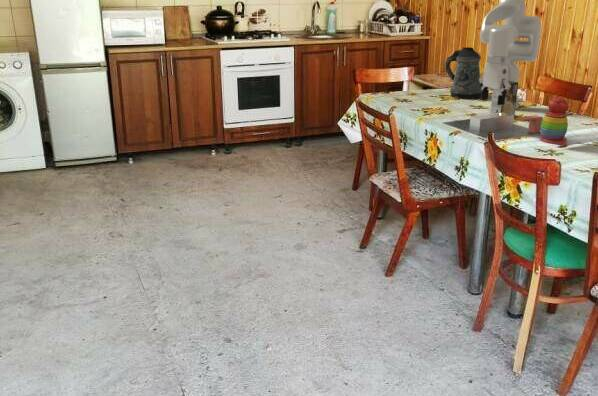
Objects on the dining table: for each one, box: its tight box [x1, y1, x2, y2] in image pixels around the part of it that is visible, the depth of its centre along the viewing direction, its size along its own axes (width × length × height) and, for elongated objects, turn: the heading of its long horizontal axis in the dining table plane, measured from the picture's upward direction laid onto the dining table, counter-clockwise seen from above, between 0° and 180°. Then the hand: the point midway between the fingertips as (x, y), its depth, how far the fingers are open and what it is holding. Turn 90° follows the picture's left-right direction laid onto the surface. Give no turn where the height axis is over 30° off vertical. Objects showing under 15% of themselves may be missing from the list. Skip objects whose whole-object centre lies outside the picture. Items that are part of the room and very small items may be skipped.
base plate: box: [442, 118, 541, 142], centre depth 242 cm, size 26×32×1 cm
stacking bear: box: [539, 95, 571, 149], centre depth 219 cm, size 11×10×18 cm
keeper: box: [515, 114, 543, 133], centre depth 232 cm, size 10×4×6 cm, turn 114°
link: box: [469, 112, 515, 132], centre depth 241 cm, size 17×6×5 cm, turn 114°
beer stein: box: [444, 46, 482, 100], centre depth 302 cm, size 16×19×25 cm
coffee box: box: [489, 80, 519, 117], centre depth 259 cm, size 9×6×16 cm
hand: (492, 102), depth 238 cm, fingers open, 9 cm apart
